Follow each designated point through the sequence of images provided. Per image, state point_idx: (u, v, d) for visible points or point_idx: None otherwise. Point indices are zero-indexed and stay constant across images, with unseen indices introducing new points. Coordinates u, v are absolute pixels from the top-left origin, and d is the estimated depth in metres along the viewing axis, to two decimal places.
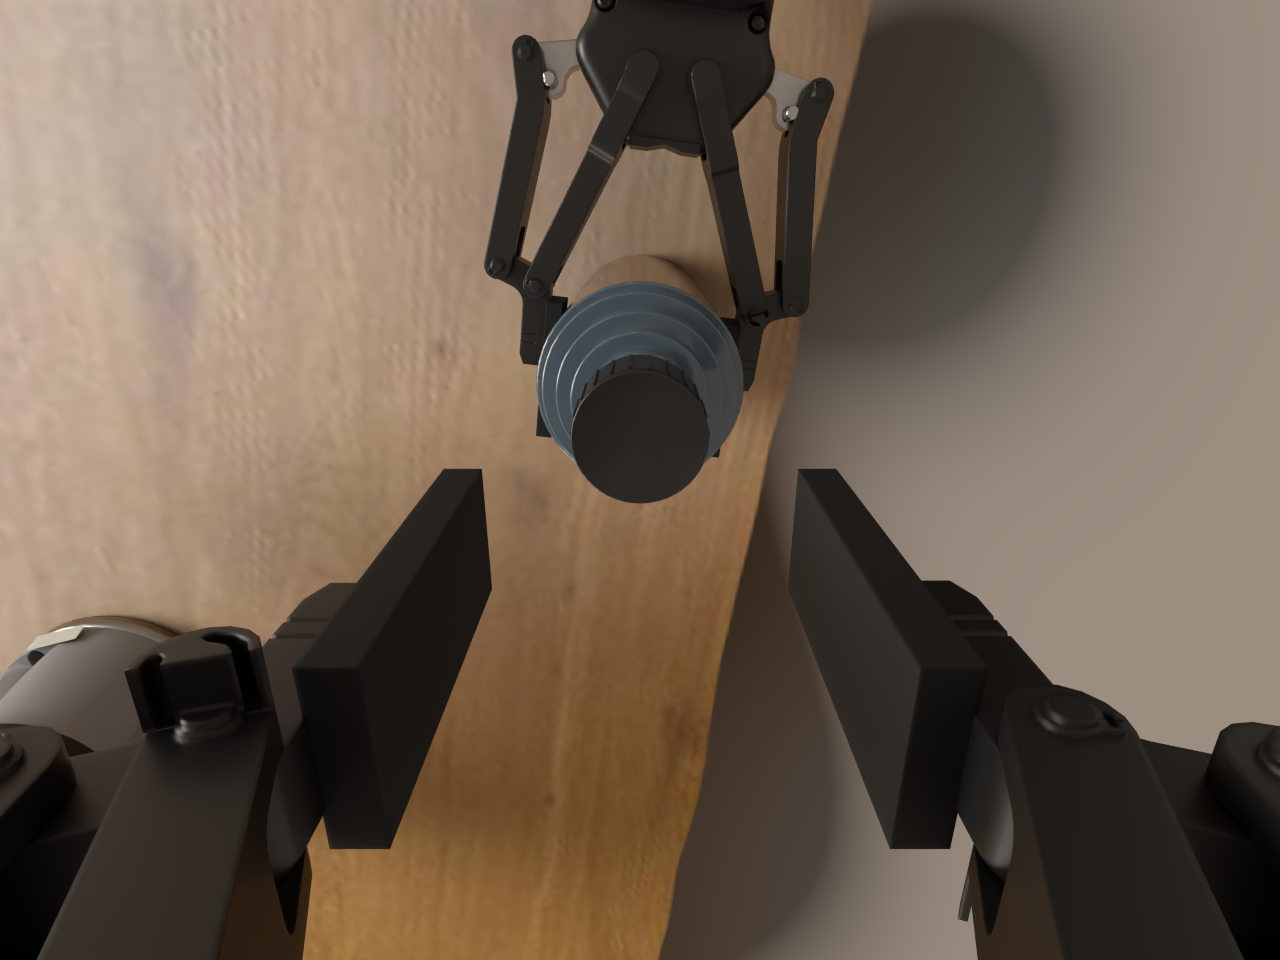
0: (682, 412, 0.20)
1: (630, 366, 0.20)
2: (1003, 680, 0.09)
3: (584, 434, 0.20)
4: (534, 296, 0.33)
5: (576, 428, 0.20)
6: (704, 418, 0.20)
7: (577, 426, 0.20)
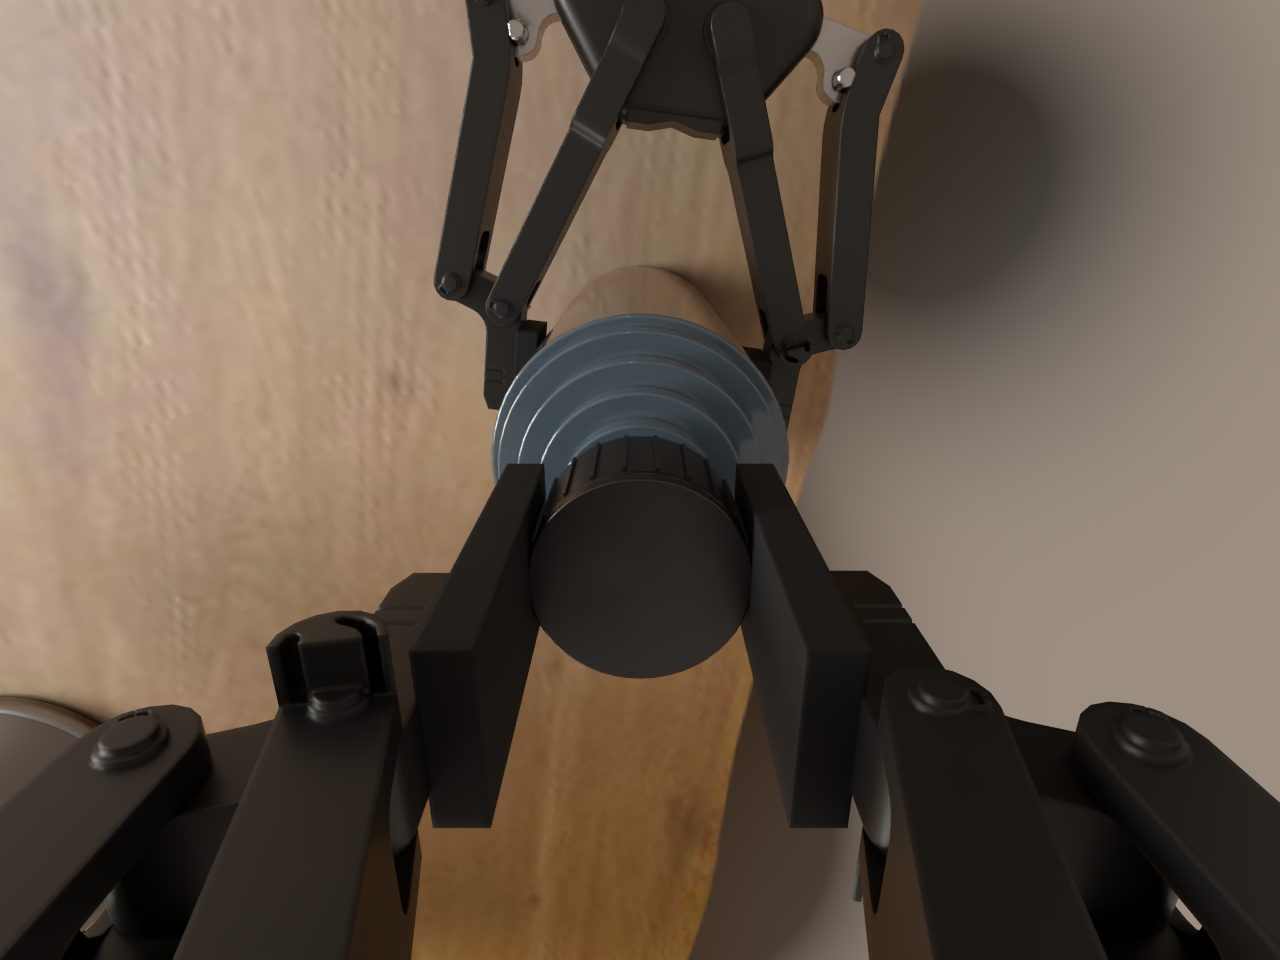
0: (710, 542, 0.12)
1: (624, 466, 0.12)
2: (897, 665, 0.09)
3: (549, 576, 0.12)
4: (501, 323, 0.25)
5: (535, 567, 0.12)
6: (746, 551, 0.12)
7: (537, 564, 0.12)
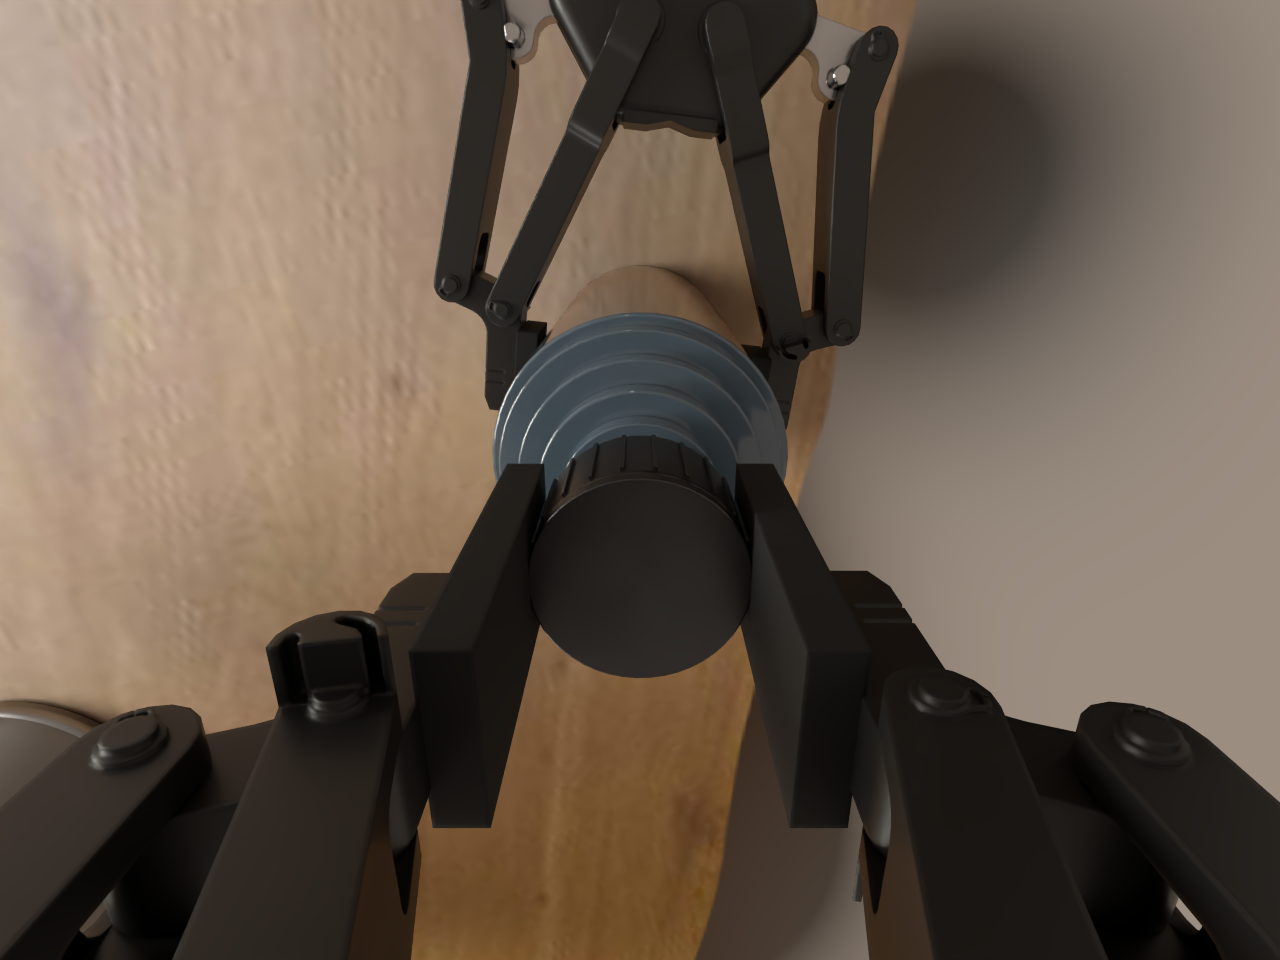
0: (558, 566, 0.12)
1: None
2: (897, 665, 0.09)
3: (691, 647, 0.13)
4: (501, 324, 0.25)
5: (692, 659, 0.13)
6: (540, 535, 0.12)
7: (688, 660, 0.13)
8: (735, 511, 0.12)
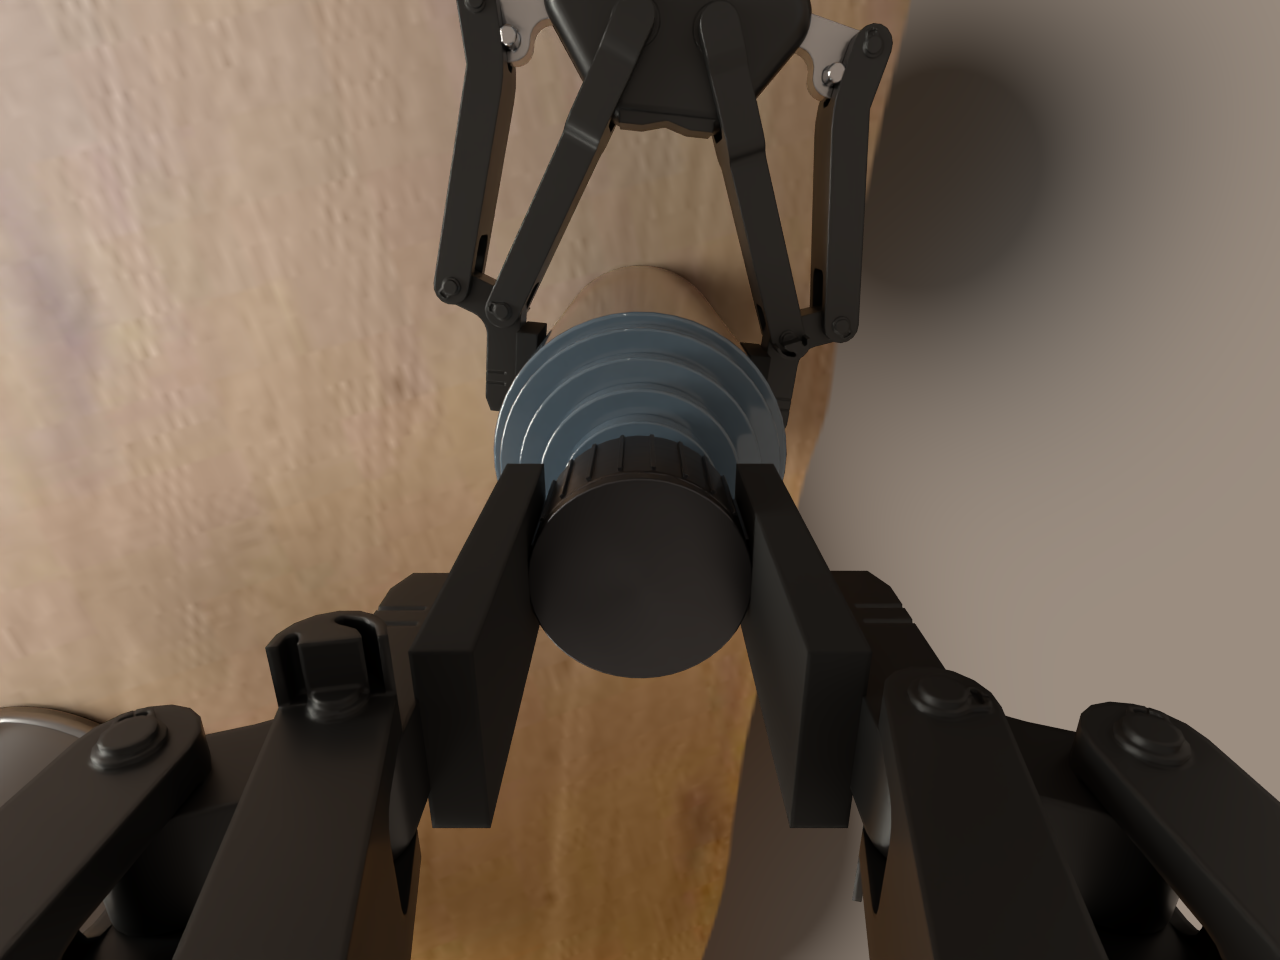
0: (677, 646, 0.13)
1: None
2: (897, 664, 0.09)
3: (660, 502, 0.12)
4: (500, 325, 0.25)
5: (672, 490, 0.12)
6: (663, 673, 0.13)
7: (675, 492, 0.12)
8: None
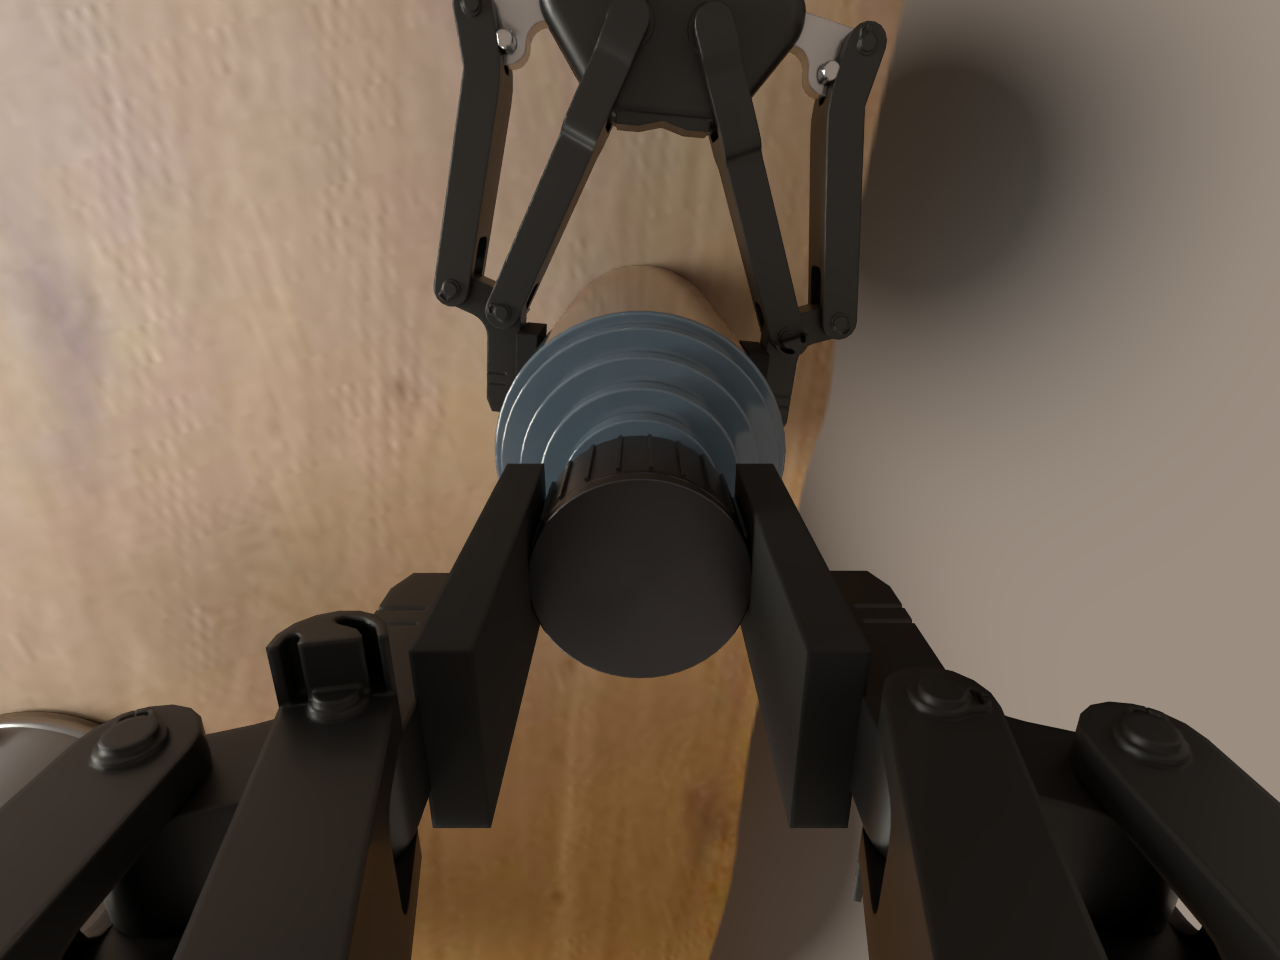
0: (669, 513, 0.12)
1: (559, 495, 0.12)
2: (897, 665, 0.09)
3: (562, 623, 0.13)
4: (501, 326, 0.25)
5: (547, 622, 0.13)
6: (706, 500, 0.12)
7: (546, 619, 0.13)
8: None
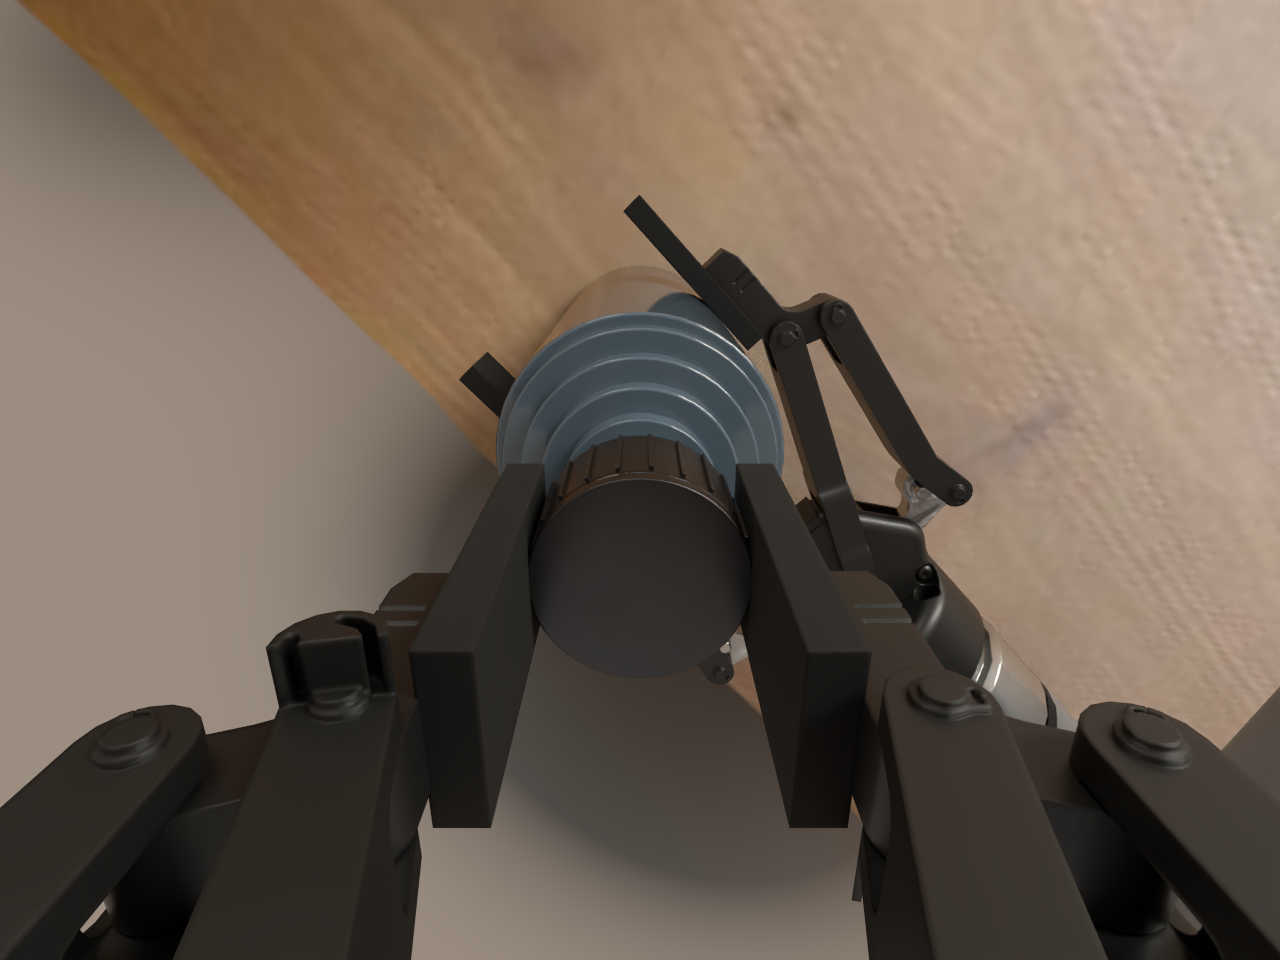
0: (669, 512, 0.12)
1: (559, 495, 0.12)
2: (897, 665, 0.09)
3: (562, 623, 0.13)
4: (778, 327, 0.25)
5: (547, 622, 0.13)
6: (706, 500, 0.12)
7: (546, 619, 0.13)
8: None
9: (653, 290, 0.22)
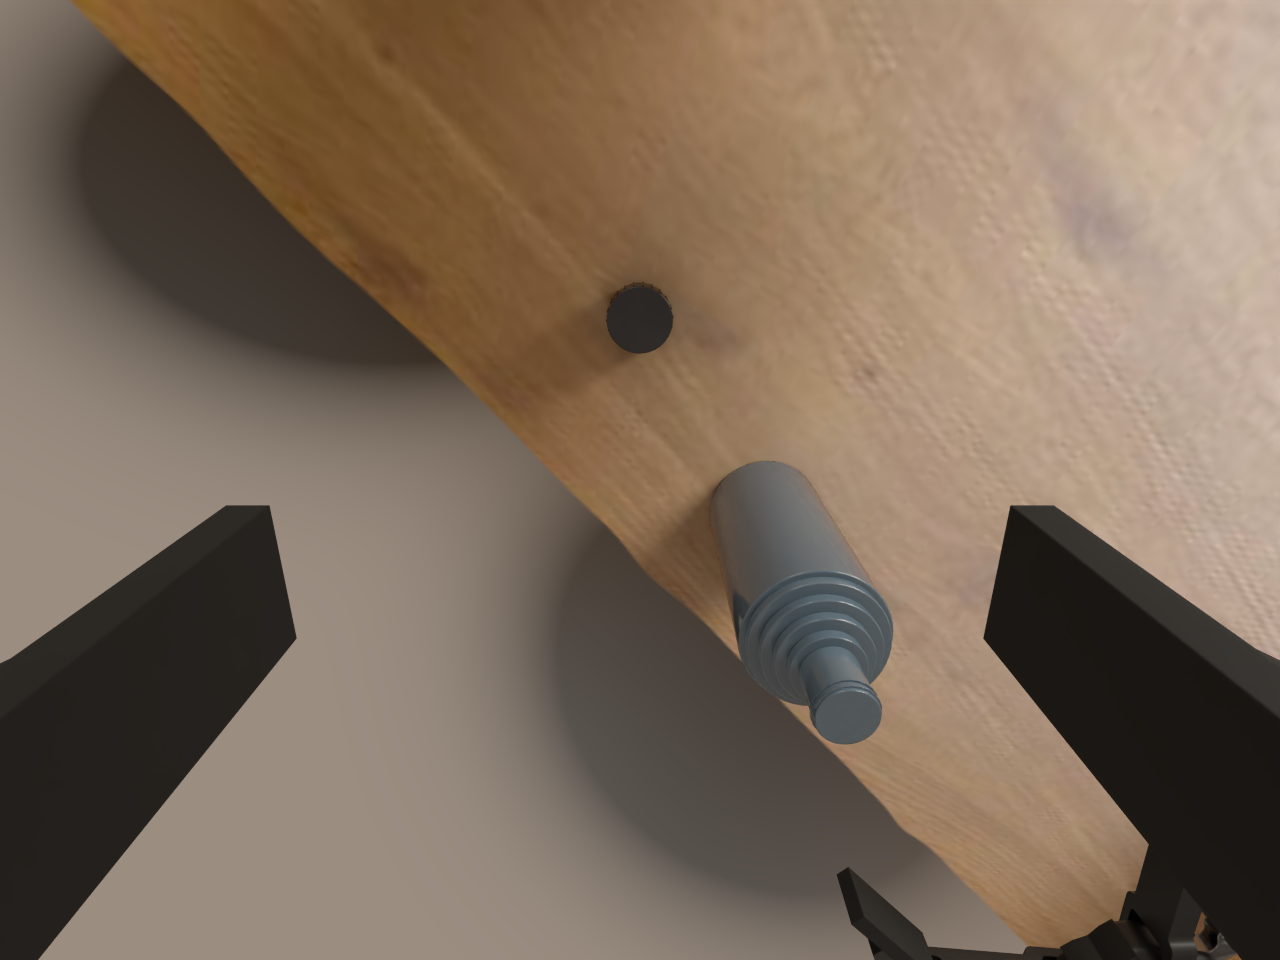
0: (648, 297, 0.42)
1: (616, 294, 0.42)
2: None
3: (617, 333, 0.43)
4: None
5: (612, 333, 0.43)
6: (658, 293, 0.42)
7: (612, 332, 0.43)
8: None
9: (807, 524, 0.38)
